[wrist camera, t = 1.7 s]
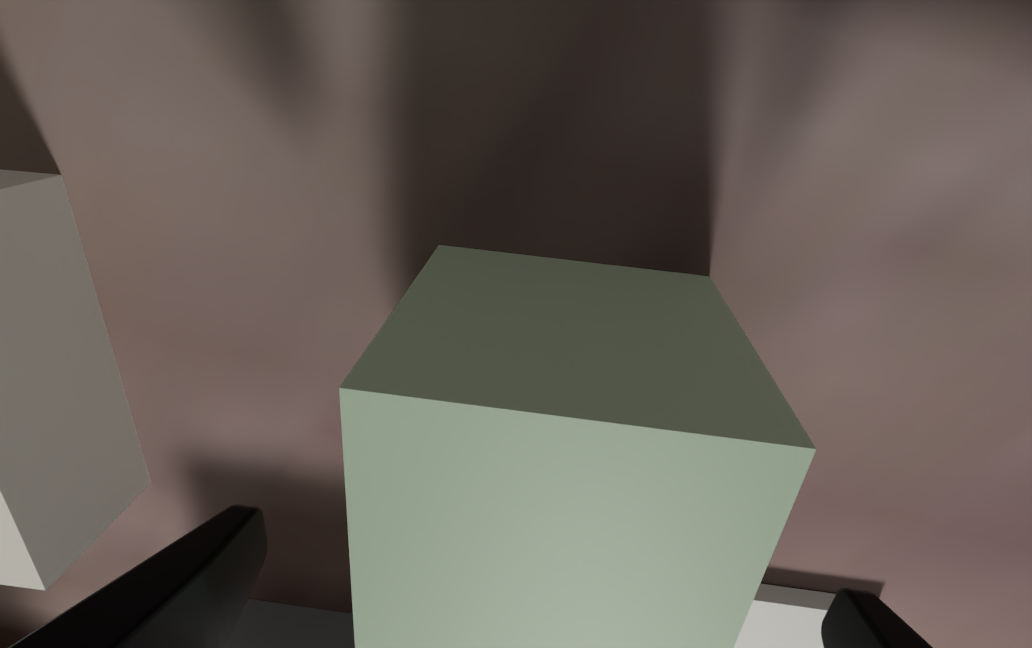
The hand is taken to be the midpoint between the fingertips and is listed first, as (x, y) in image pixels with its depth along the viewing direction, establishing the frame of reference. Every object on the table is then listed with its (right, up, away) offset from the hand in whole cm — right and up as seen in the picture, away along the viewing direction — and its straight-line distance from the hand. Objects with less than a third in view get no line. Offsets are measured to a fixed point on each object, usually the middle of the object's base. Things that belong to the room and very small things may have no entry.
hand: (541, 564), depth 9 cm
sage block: (+1, +3, +5) cm, 6 cm away
